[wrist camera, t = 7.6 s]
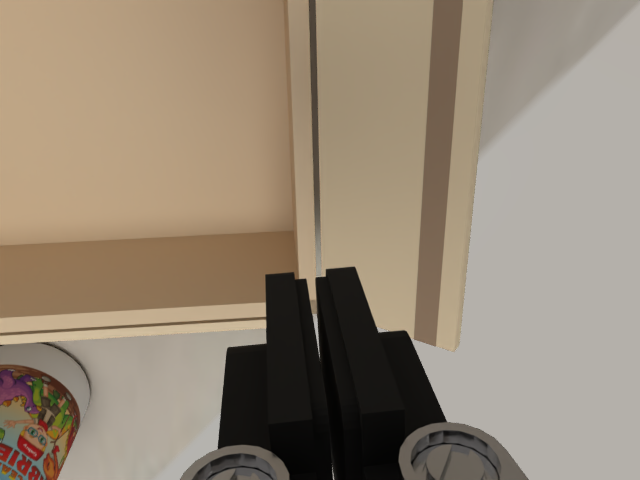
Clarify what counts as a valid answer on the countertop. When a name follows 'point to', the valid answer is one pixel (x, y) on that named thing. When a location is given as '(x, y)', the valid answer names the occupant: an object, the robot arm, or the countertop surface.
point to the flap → (402, 153)
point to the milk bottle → (38, 410)
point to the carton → (151, 165)
